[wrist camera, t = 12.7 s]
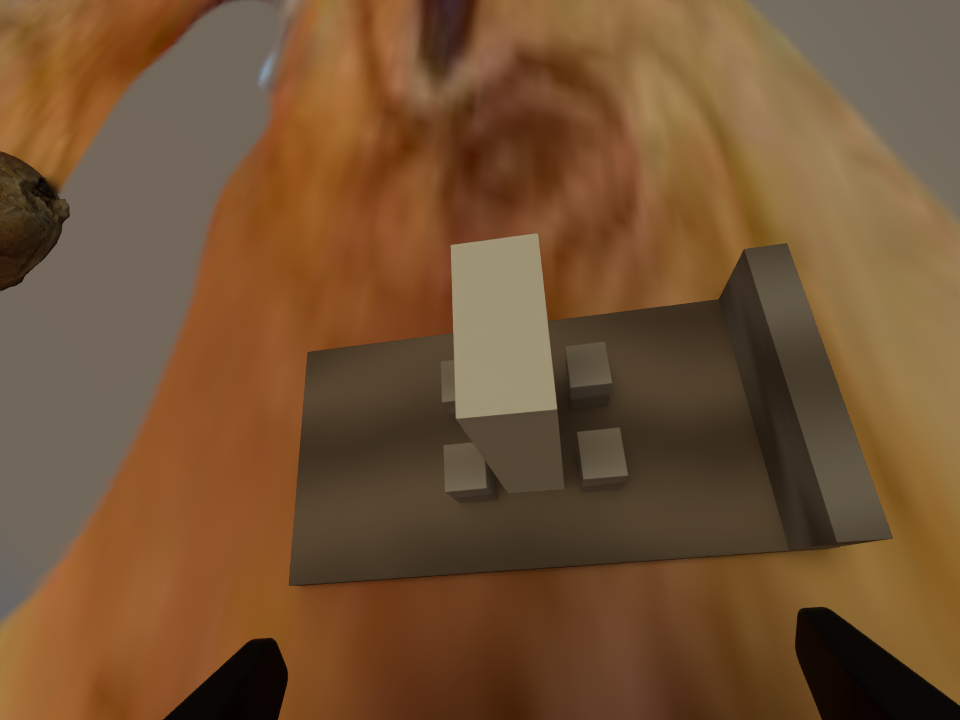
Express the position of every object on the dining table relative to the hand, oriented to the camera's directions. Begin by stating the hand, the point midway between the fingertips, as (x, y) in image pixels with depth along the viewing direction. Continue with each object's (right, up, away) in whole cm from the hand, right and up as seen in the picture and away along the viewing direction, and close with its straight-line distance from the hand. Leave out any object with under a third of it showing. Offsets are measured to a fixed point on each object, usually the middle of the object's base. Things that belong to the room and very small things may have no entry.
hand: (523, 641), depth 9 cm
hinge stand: (+2, +1, +15) cm, 15 cm away
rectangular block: (+2, +2, +14) cm, 14 cm away
